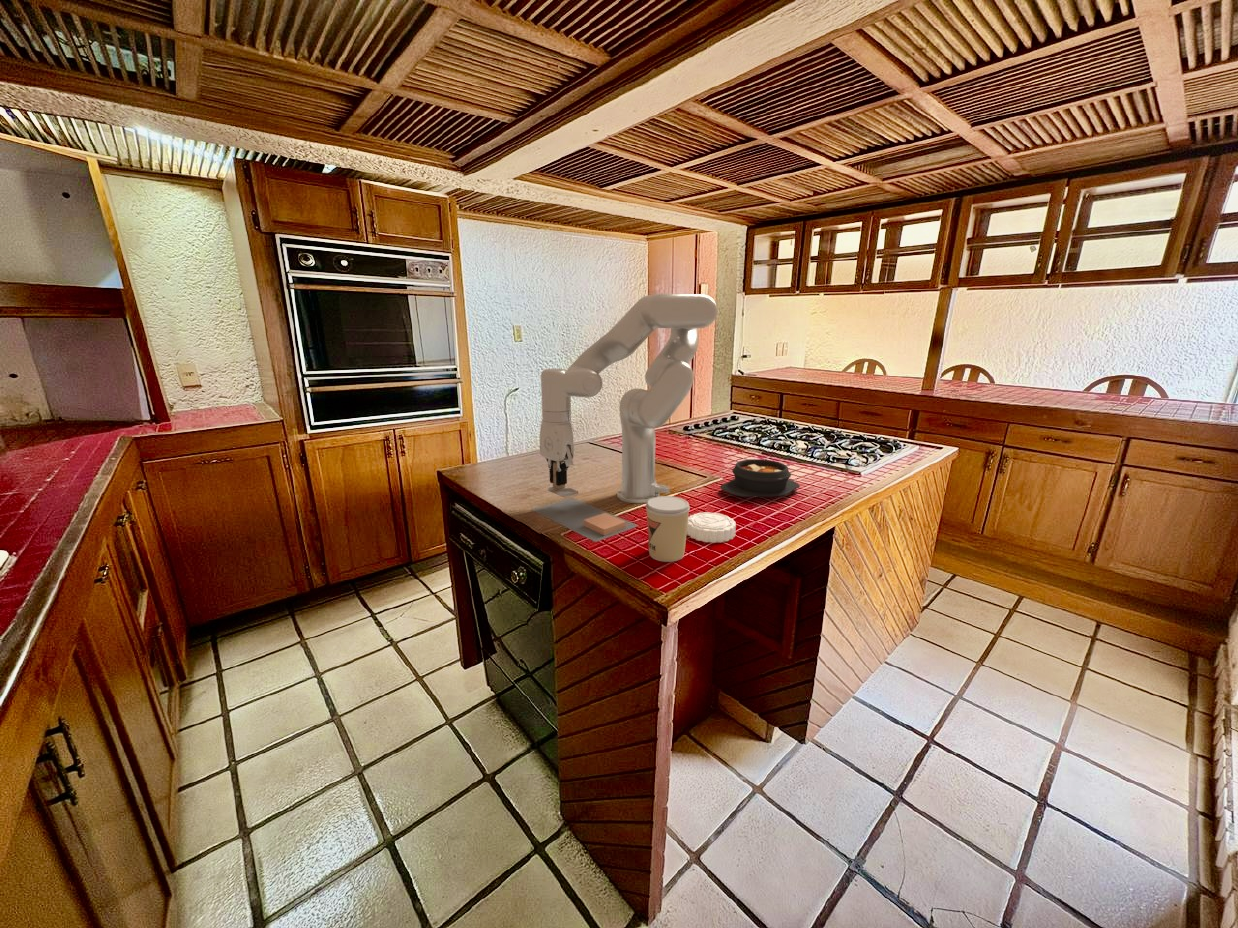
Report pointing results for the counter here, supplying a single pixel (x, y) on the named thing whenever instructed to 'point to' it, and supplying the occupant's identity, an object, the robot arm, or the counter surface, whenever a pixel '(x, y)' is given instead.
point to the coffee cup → (667, 527)
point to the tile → (604, 524)
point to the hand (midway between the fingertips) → (558, 482)
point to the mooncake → (711, 527)
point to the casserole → (760, 479)
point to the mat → (577, 517)
